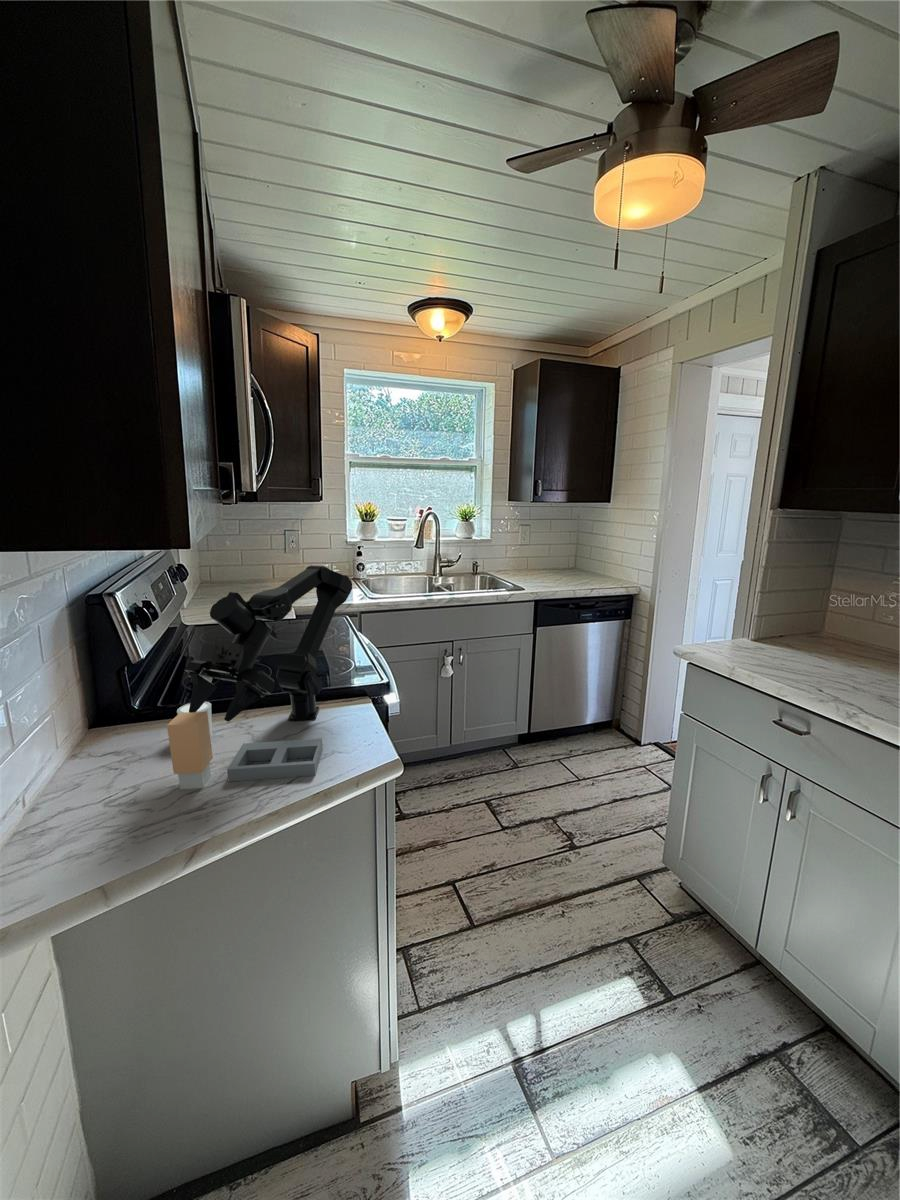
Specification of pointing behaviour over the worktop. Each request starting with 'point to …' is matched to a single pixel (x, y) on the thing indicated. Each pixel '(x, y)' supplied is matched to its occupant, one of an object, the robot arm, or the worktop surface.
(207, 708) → the white cylinder
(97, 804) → the worktop surface
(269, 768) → the socket block
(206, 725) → the plug
